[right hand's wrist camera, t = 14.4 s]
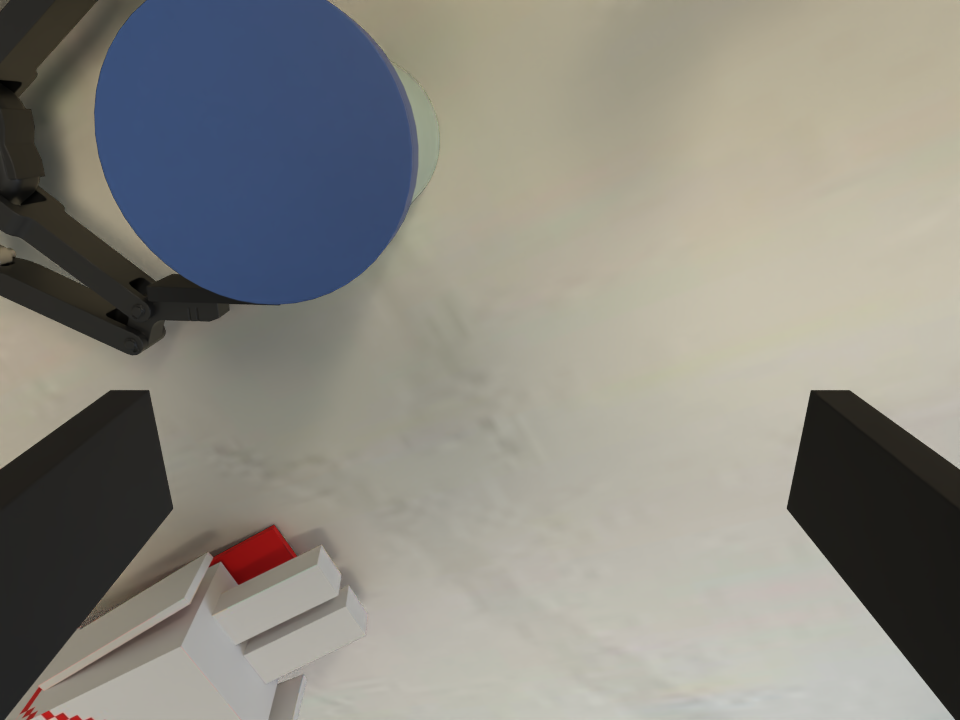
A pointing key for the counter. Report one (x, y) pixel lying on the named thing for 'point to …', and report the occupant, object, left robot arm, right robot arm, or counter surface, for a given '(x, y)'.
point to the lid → (256, 143)
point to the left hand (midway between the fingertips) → (276, 151)
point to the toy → (205, 641)
